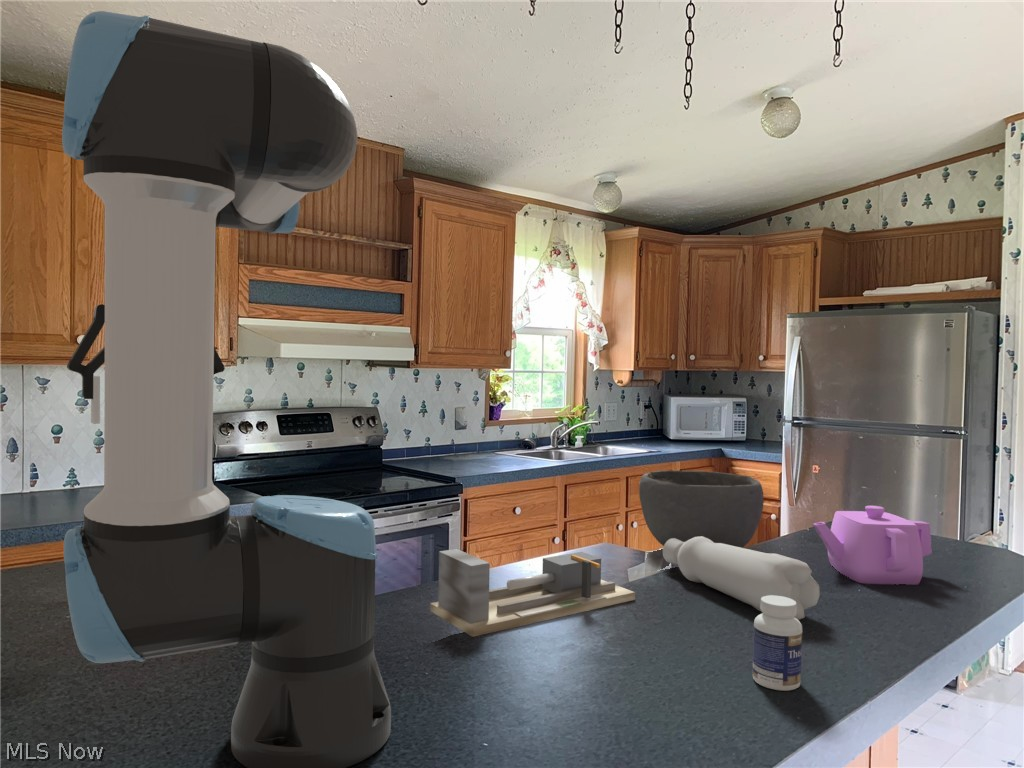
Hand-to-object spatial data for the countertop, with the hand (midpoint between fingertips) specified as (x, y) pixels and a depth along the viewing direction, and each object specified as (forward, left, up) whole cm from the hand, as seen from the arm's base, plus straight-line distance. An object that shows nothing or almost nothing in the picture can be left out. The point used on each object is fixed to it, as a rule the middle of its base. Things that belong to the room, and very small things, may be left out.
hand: (149, 421), depth 106 cm
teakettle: (-44, -113, -28) cm, 124 cm away
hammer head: (-32, -55, -26) cm, 69 cm away
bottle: (-39, -81, -28) cm, 94 cm away
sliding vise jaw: (-29, -53, -26) cm, 66 cm away
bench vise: (-27, -50, -28) cm, 63 cm away
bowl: (-17, -98, -28) cm, 103 cm away
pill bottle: (-64, -58, -28) cm, 91 cm away
